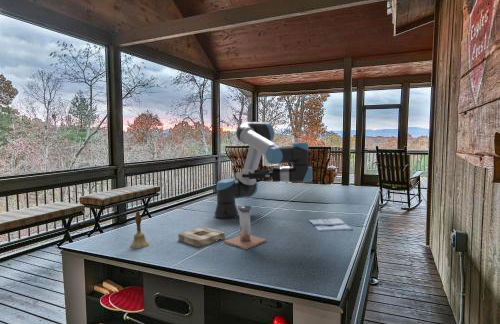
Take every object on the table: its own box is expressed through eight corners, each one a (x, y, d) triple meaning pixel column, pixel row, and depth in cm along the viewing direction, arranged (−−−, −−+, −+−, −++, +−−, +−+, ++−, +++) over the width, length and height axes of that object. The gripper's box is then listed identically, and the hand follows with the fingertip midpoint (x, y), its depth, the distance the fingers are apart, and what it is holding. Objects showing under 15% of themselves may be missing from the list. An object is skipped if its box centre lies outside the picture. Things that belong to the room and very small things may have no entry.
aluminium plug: (245, 237, 147) (244, 204, 146) (254, 239, 143) (254, 206, 141) (235, 240, 142) (235, 207, 141) (245, 243, 138) (245, 209, 137)
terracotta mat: (244, 235, 152) (244, 233, 152) (266, 241, 143) (266, 239, 143) (224, 243, 142) (224, 241, 142) (246, 249, 133) (246, 247, 132)
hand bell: (129, 249, 136) (127, 214, 135) (131, 243, 144) (129, 210, 143) (148, 247, 138) (147, 213, 137) (149, 241, 146) (148, 209, 145)
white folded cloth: (340, 221, 178) (340, 217, 178) (353, 231, 158) (353, 227, 158) (308, 222, 177) (308, 218, 177) (317, 232, 157) (317, 228, 157)
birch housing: (203, 232, 159) (203, 226, 159) (224, 238, 149) (224, 232, 149) (178, 240, 148) (178, 234, 147) (199, 247, 137) (199, 240, 137)
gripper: (278, 185, 137) (233, 184, 142) (283, 178, 162) (244, 177, 166) (278, 169, 137) (232, 168, 141) (283, 164, 161) (244, 164, 165)
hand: (239, 173), depth 154 cm, fingers open, 13 cm apart
